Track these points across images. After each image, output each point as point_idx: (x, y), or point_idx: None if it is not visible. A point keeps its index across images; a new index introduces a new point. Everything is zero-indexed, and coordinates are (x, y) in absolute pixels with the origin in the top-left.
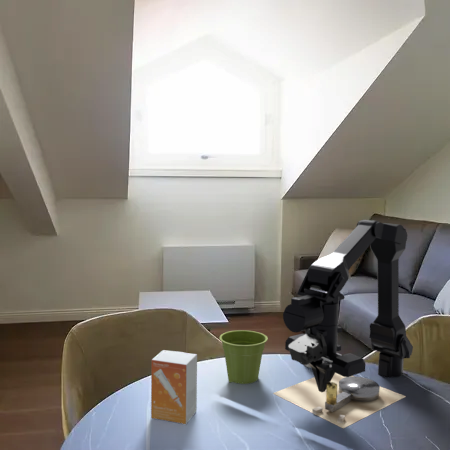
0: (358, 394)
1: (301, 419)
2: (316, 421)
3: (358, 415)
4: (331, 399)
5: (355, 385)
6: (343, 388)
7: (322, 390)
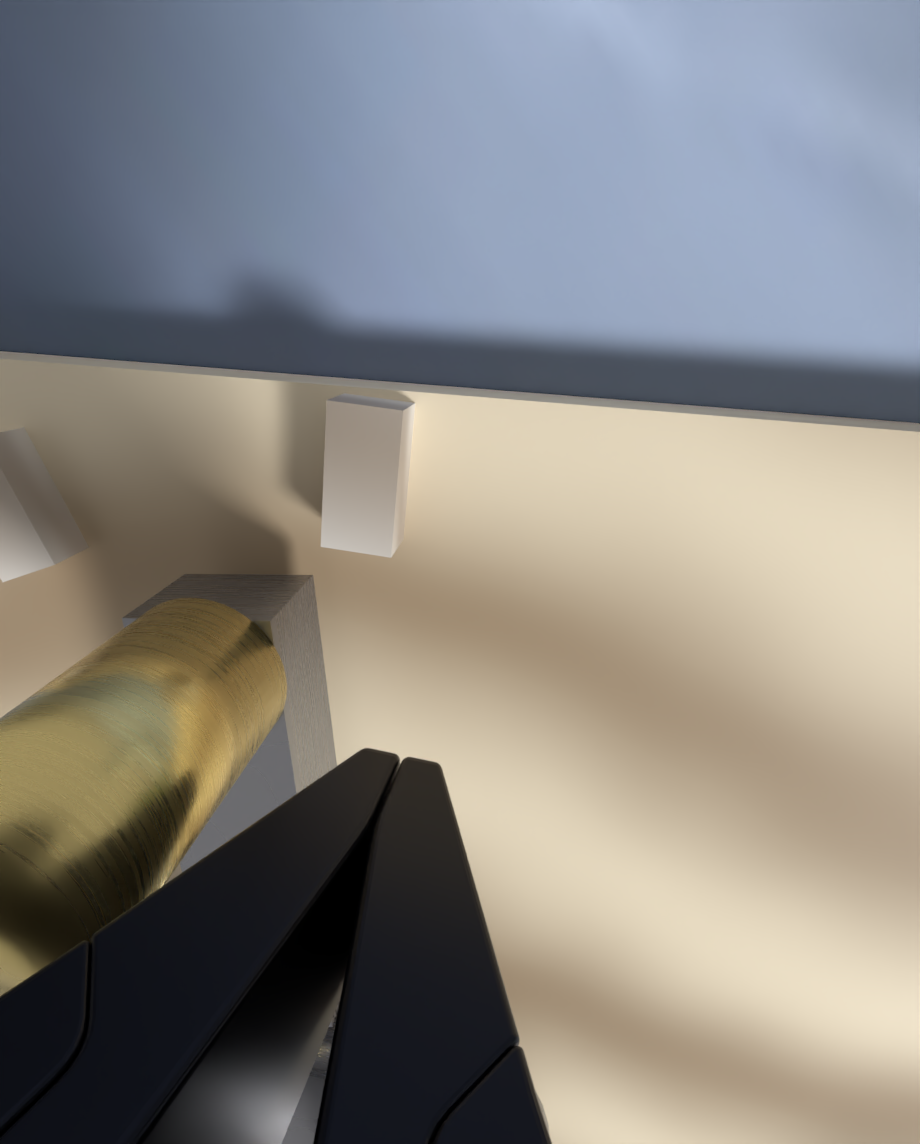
0: None
1: (490, 206)
2: (314, 336)
3: None
4: (92, 651)
5: None
6: None
7: (339, 779)
